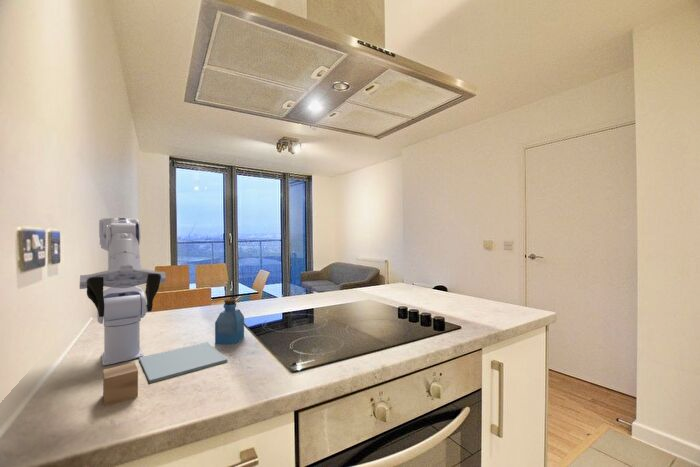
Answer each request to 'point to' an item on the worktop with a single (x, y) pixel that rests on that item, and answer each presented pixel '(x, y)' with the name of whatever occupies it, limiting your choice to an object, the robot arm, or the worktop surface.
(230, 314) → the perfume bottle
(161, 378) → the slate board
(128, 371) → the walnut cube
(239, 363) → the worktop surface
